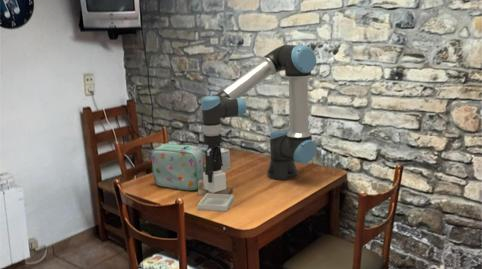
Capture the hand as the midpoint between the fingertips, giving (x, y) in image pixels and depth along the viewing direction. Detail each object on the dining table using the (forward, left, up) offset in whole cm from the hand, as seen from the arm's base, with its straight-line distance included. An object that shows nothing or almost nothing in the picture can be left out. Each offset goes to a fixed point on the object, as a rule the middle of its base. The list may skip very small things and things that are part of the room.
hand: (215, 184), depth 191 cm
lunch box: (+23, -20, -9) cm, 32 cm away
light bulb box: (+12, -49, -9) cm, 51 cm away
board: (+2, -12, -10) cm, 16 cm away
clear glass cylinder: (+9, -12, -9) cm, 18 cm away
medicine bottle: (0, 0, -2) cm, 2 cm away
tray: (0, 0, -9) cm, 9 cm away
